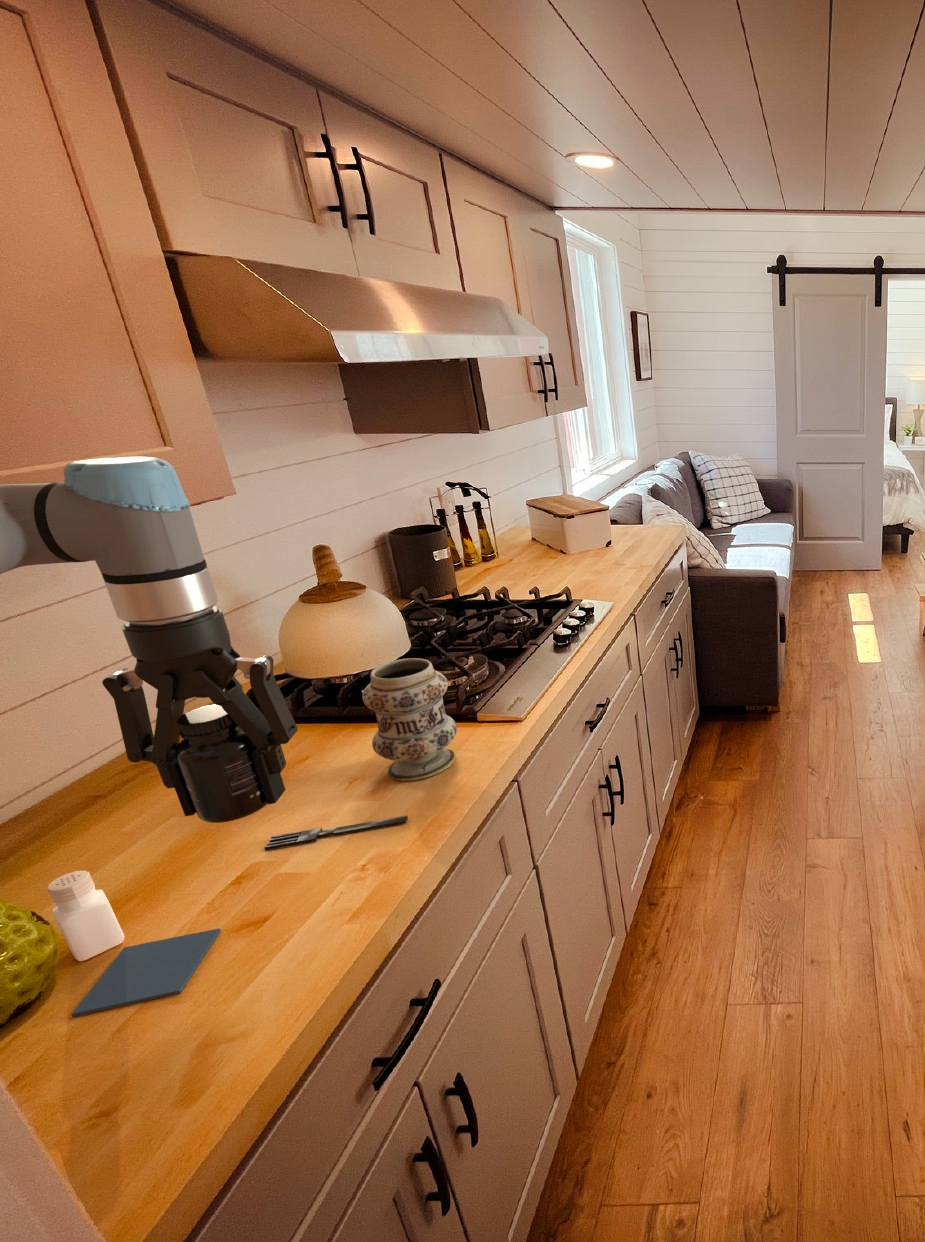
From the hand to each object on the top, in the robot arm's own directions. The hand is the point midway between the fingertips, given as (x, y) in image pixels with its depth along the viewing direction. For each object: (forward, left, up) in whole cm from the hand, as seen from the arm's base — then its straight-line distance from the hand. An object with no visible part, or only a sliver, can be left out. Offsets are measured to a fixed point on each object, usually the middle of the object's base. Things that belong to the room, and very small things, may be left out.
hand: (236, 802), depth 77 cm
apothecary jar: (+9, +32, -17) cm, 38 cm away
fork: (+2, +16, -17) cm, 23 cm away
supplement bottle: (0, 0, -1) cm, 1 cm away
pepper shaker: (-18, +1, -17) cm, 25 cm away
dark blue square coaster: (-10, -5, -17) cm, 20 cm away
